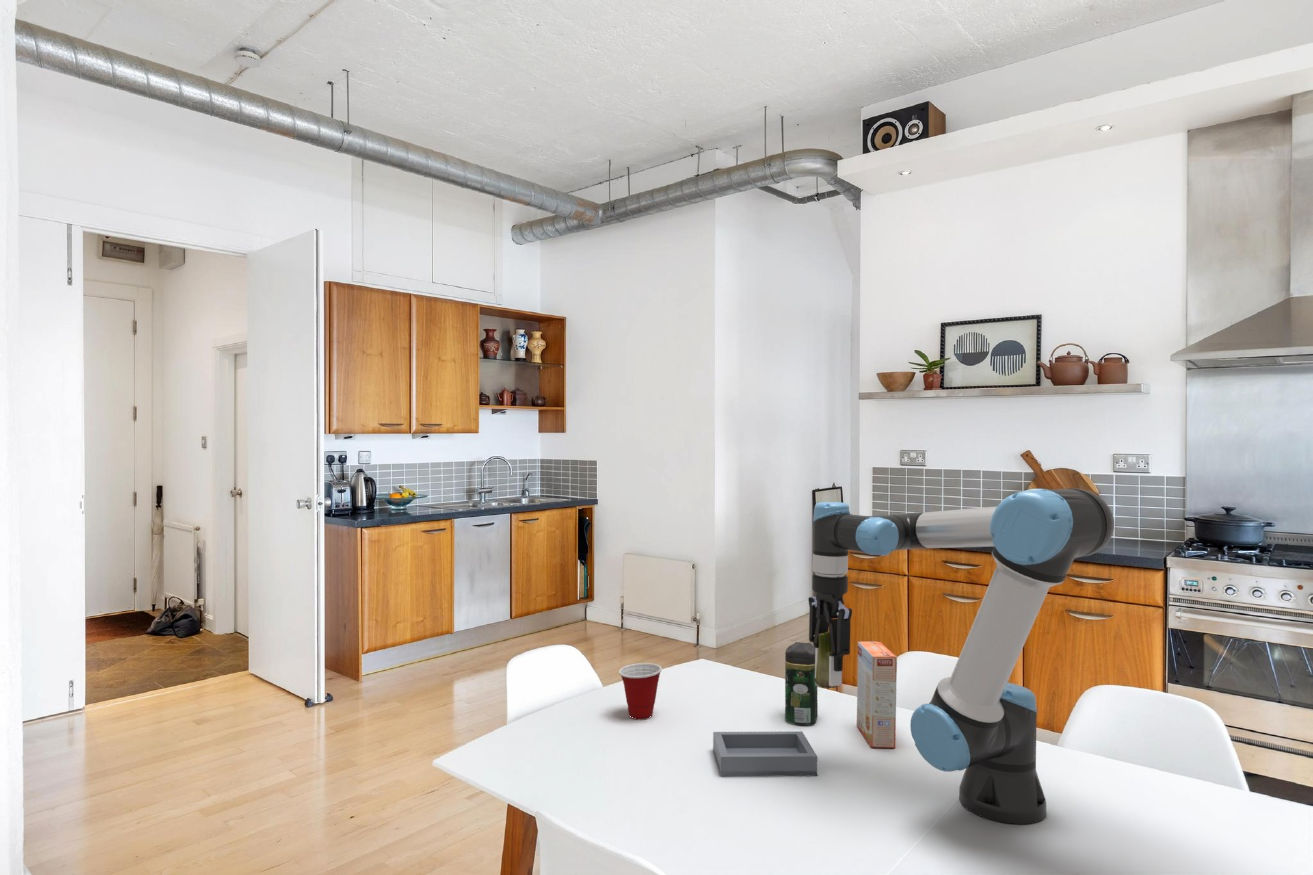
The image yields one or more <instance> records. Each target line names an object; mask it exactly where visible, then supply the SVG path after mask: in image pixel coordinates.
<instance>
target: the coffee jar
mask: <svg viewBox="0 0 1313 875" xmlns="http://www.w3.org/2000/svg"><path fill="white" fill-rule="evenodd" d="M784 653H785V654H784V655H785V660H784V661H785V662H784V664H785V665H784V668H785V669H784V672H785V673H784V676H785V677H784V680H785V681H784V685H785V686H784V690H785V691H784V692H785V693H784V695H785V696H784V701H785V702H784V703H785V704H784V716H785V717H784V718H785V720H786V721H787V723H792V724H794V725H797V726H798V725H799V726H805V725H806V726H807V725H814V724H815V723H816V721H817V720H818V713H819V710H818V709H819V708H818V707H819V706H818V684H817V683H816V678H815V647H814V645H813V644H812V642H800V641H799V642H798V641H797V642H796V641H795V642H794V643H792V644H791V645H789V646H787V648H786V650H785V652H784Z"/></svg>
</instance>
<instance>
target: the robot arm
mask: <svg viewBox="0 0 1313 875" xmlns="http://www.w3.org/2000/svg"><path fill="white" fill-rule="evenodd" d="M813 509H814V510H813V520H812V523H813V524H812V525H813V526H812V527H813V528H812V529H813V530H812V534H813V535H812V541H813V542H812V543H813V544H812V565H811V566H812V569H811V570H812V572H813V574H812V579H811V580H812V583H811V587H812V588H811V589H812V591H813V592H814V593H816V594H815V596H810V597H808V605H809V618H808V620H809V621H808V622H809V626H808V641H809V643H813V644H812V645H813V646H814V647H815V678H816V666H817V660H818V655H819V637H818V635H819V634H822V633H824V634H825V632H830V640H831V649H832V653H830V654H829V686H837V687H838V686H842V684H843V678H842V677H843V668H844V665H843V663H844V662H843V660H844V658H843V657H844V656H847V655H850V653H851V619H852V614H853V609H852V608H850V607H849V608H847V607H846V606H845V603H844V595H845V594H847V593H848V590H849V588H848V587H849V577H848V576H847V574H848V573H849V572H848V571H849V551H853V552H858V553H862V554H867V555H870V556H883V557H884V556H888V555H890V554H891V553H892V552H894V551H895V552H896V551H900V550H902V551H904V550H919V549H920V550H921V549H922V550H923V549H941V548H942V549H949V548H954V549H955V548H982V547H987V548H988V547H989V548H990V547H992V551H991V556H992V558H993V560H994V562H995V564H996V567H995V569H994V572H993V574H992V576H991V579H990V580H989V581H990V582H989V584H988V586H987V589H986V592H985V594H984V596H983V598H982V601H981V603H980V606H979V608H978V610H977V614H976V616H975V617H974V620H973V623H972V624H971V628H970V629H969V632H968V634H967V637H966V640H965V642H964V644H963V647H962V649H961V652H960V654H959V656H958V658H957V661H956V663H955V667H954V668H953V671H952V672H951V676H950V677H944V678H942V679H940V681H939V682H938V683H937V686H936V688H935V690H934V693H933V695H932V698H931V700H930V701H929V702H928V703H923V704H921V705H920V706H918V707H917V708H916V709H915V710H914V711H913V713H912V714H911V716H910V717H911V718H910V724H909V725H910V726H909V728H910V734H911V738H912V739H913V741H914V746H915V747H916V750H917V751H918V752H919V754H920V756H921V757H922V758H923V759H924V760H925V761H926V762H927V764H929V765H930V766H932V767H933V768H935V769H937V770H939V771H942V772H946V773H947V772H948V773H949V772H957V771H964V773H963V776H962V779H961V782H960V784H959V790H958V792H959V794H958V795H959V796H958V799H959V802H960V804H961V805H962V807H964V808H965V809H967V810H968V811H970V812H971V813H973V814H975V815H977V816H980V817H983V818H986V819H989V820H992V821H995V822H1000V823H1004V824H1005V823H1006V824H1015V825H1017V824H1019V825H1024V824H1025V825H1026V824H1033V823H1037V822H1040V821H1041V820H1043V819H1044V818H1045V817H1046V816H1047V801H1046V797H1045V794H1044V790H1043V787H1042V785H1041V781H1040V778H1039V775H1038V772H1037V721H1038V720H1037V719H1038V718H1037V717H1038V716H1037V714H1038V709H1037V698H1036V694H1034V693H1033V691H1032V690H1030V689H1029V688H1027V687H1024V686H1023V685H1019V684H1016V683H1012V682H1009V680H1010V678H1011V675H1012V673H1013V670H1014V668H1015V666H1016V664H1017V662H1018V659H1019V657H1020V655H1021V652H1022V651H1023V648H1024V646H1025V644H1026V641H1027V639H1028V638H1029V635H1030V632H1031V630H1032V628H1033V626H1034V624H1035V621H1036V619H1037V617H1038V615H1039V612H1040V610H1041V607H1042V605H1043V603H1044V601H1045V599H1046V597H1047V594H1048V592H1049V590H1050V588H1052V587H1054V586H1058V585H1062V584H1063V583H1064V582H1065V580H1066V578H1067V575H1068V573H1069V572H1070V568H1071V567H1072V564H1073V562H1074V560H1075V559H1078V558H1083V557H1088V556H1091V555H1094V554H1097V552H1099V551H1102V549H1104V548H1105V547H1106V546H1107V545H1108V543H1109V542H1110V541H1111V539H1112V537H1113V535H1114V530H1115V518H1114V515H1113V512H1112V509H1111V508H1110V506H1109V504H1107V502H1106V501H1105V500H1104V499H1103V498H1102V497H1100V496H1099V495H1097V494H1096V493H1094V492H1092V491H1089V490H1086V489H1083V488H1076V487H1075V488H1074V487H1072V488H1071V487H1070V488H1069V487H1068V488H1056V489H1046V488H1031V489H1030V488H1029V489H1027V490H1023V491H1017V492H1015V493H1013V494H1011V495H1009V496H1007V497H1005V498H1004V499H1003V500H1001V502H1000V503H999V504H997V506H987V507H977V508H974V507H973V508H964V509H963V508H962V509H948V510H940V511H939V510H938V511H925V512H911V513H901V514H884V515H883V514H882V515H881V514H880V515H861V514H860V515H859V514H853V513H851V512H850V506H849V504H848V503H847V502H838V501H837V502H836V501H819V502H817V503H816V504H815V505H814V508H813Z"/></svg>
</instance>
